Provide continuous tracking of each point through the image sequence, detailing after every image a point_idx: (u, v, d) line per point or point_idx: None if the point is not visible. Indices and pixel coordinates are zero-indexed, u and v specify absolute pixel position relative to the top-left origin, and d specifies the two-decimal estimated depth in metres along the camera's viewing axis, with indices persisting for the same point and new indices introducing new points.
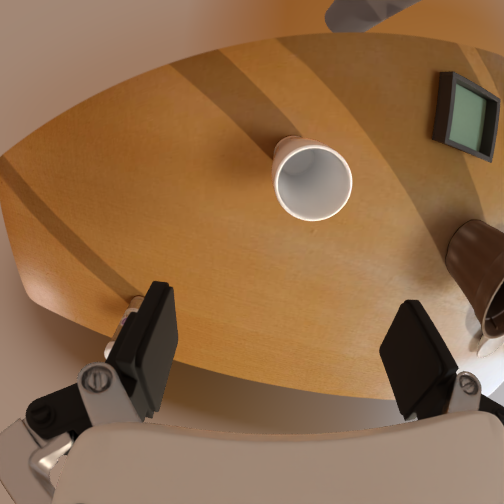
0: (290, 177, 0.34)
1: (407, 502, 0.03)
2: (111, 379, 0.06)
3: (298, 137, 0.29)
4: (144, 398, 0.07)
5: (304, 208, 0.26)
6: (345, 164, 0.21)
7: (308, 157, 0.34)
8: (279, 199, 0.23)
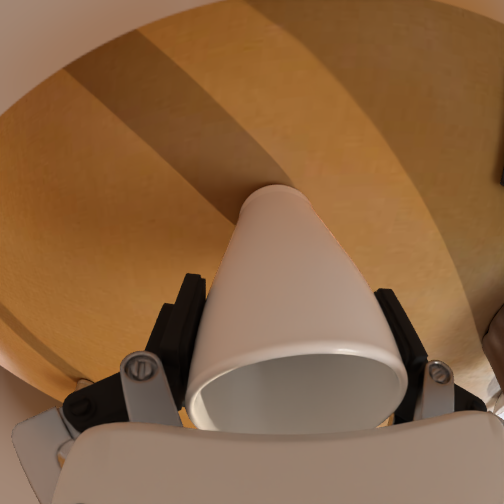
0: None
1: (407, 502, 0.03)
2: (154, 367, 0.07)
3: (280, 206, 0.14)
4: (181, 386, 0.08)
5: (279, 400, 0.11)
6: (400, 375, 0.06)
7: None
8: None
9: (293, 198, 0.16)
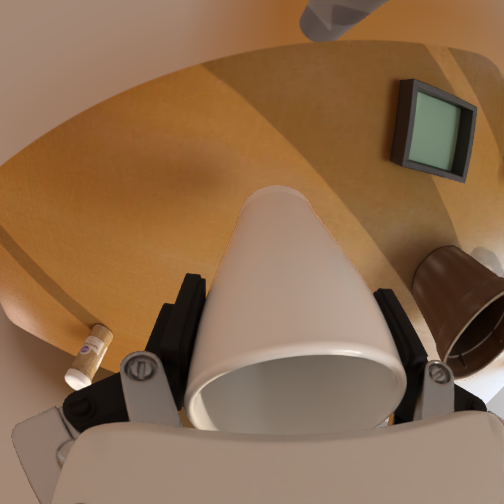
0: None
1: (407, 502, 0.03)
2: (154, 367, 0.07)
3: (279, 207, 0.14)
4: (181, 386, 0.08)
5: (278, 401, 0.11)
6: (399, 376, 0.06)
7: None
8: None
9: (293, 198, 0.16)
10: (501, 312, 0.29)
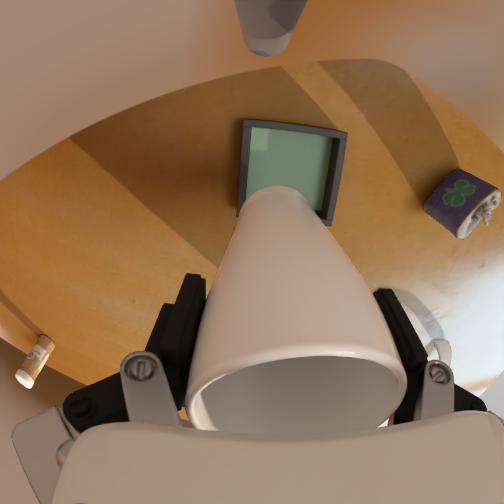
0: None
1: (407, 502, 0.03)
2: (154, 367, 0.07)
3: (280, 207, 0.14)
4: (181, 386, 0.08)
5: (278, 401, 0.11)
6: (399, 377, 0.06)
7: None
8: None
9: (293, 199, 0.16)
10: None
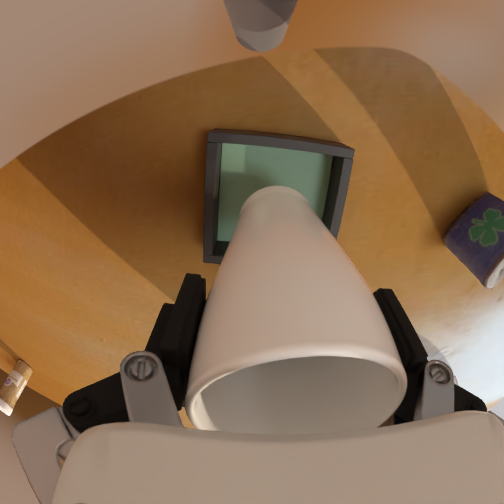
0: None
1: (407, 502, 0.03)
2: (154, 367, 0.07)
3: (280, 207, 0.14)
4: (181, 386, 0.08)
5: (278, 401, 0.11)
6: (399, 377, 0.06)
7: None
8: None
9: (293, 199, 0.16)
10: None
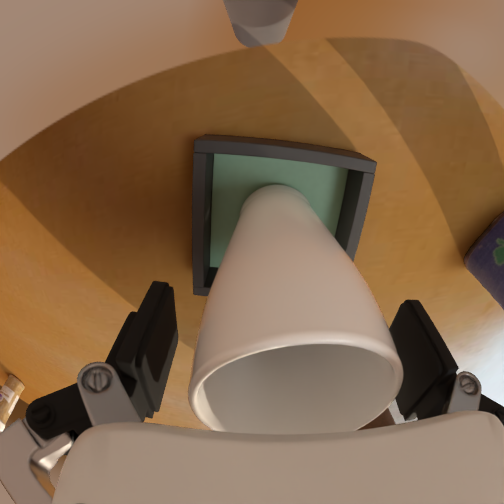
0: None
1: (407, 502, 0.03)
2: (111, 379, 0.06)
3: (279, 206, 0.14)
4: (144, 398, 0.07)
5: (278, 394, 0.11)
6: (395, 366, 0.06)
7: None
8: (209, 427, 0.08)
9: (292, 198, 0.16)
10: None
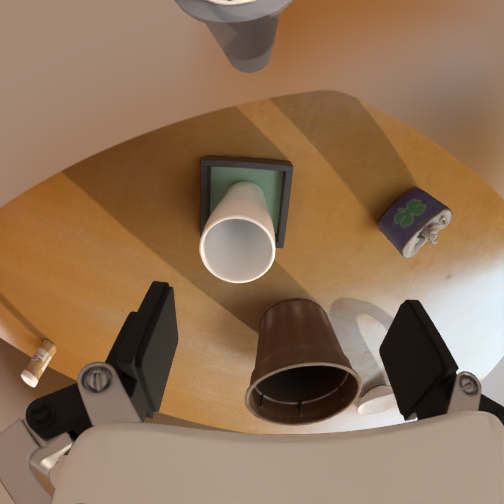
0: (239, 224, 0.36)
1: (407, 502, 0.03)
2: (111, 379, 0.06)
3: (239, 189, 0.31)
4: (144, 398, 0.07)
5: (237, 267, 0.28)
6: (266, 231, 0.24)
7: None
8: (205, 265, 0.25)
9: (248, 186, 0.33)
10: (345, 372, 0.38)
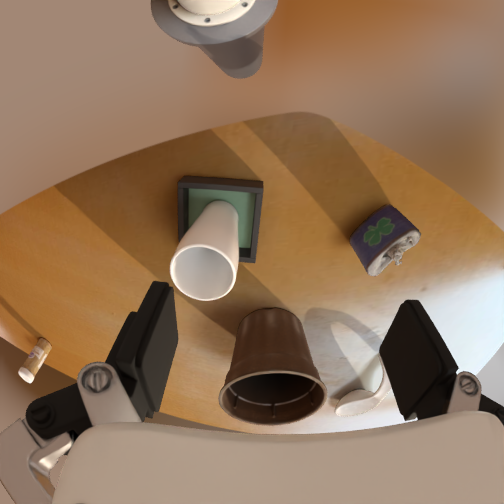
0: None
1: (407, 502, 0.03)
2: (111, 379, 0.06)
3: (211, 211, 0.34)
4: (143, 398, 0.07)
5: (205, 285, 0.31)
6: (226, 258, 0.26)
7: None
8: (176, 285, 0.28)
9: (221, 207, 0.36)
10: None
